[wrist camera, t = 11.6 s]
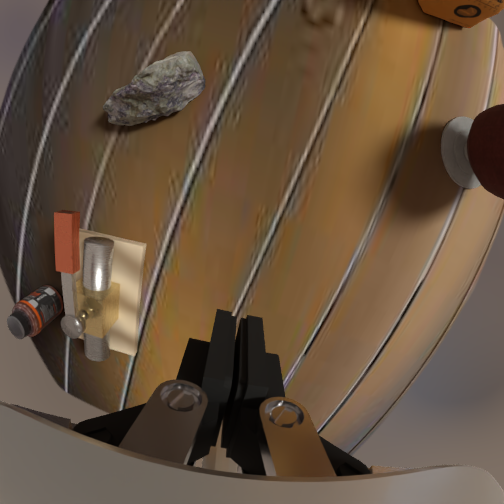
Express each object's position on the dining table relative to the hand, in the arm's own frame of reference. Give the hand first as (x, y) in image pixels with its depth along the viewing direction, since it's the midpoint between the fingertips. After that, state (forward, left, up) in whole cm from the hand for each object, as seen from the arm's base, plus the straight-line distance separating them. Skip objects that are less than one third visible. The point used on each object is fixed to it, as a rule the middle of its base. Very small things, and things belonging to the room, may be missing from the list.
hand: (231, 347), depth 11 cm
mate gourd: (+21, -33, -31) cm, 50 cm away
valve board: (-16, +19, -31) cm, 40 cm away
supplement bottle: (-21, +30, -31) cm, 48 cm away
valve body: (-16, +19, -30) cm, 39 cm away
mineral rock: (+15, +15, -32) cm, 38 cm away
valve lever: (-9, +19, -21) cm, 30 cm away
